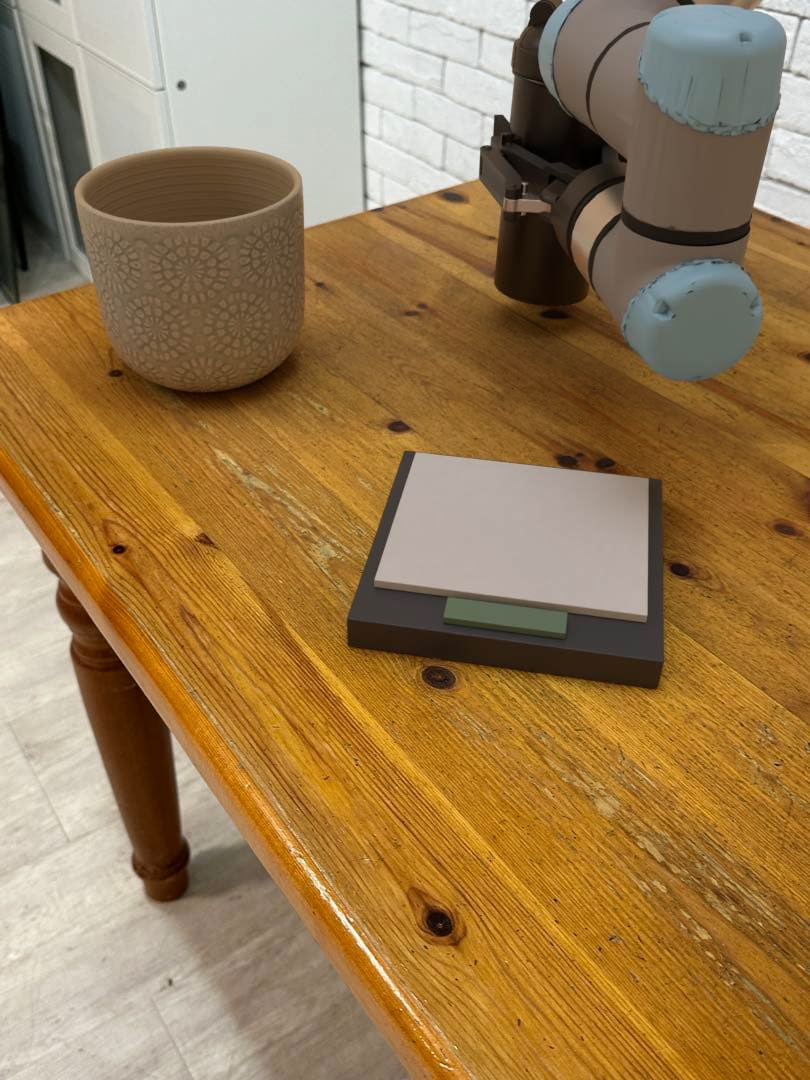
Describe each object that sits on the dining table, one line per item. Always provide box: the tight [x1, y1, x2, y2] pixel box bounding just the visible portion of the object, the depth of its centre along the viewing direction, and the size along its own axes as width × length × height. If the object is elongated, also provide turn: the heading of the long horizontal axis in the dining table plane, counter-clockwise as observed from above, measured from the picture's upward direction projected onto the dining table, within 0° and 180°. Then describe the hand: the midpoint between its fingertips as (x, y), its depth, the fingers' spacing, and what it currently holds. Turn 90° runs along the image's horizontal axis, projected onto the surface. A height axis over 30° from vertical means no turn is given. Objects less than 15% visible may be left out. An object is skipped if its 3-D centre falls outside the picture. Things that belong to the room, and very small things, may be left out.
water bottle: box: [493, 0, 609, 308], centre depth 87 cm, size 10×10×23 cm
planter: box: [73, 145, 306, 393], centre depth 83 cm, size 17×17×15 cm
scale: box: [346, 450, 665, 690], centre depth 66 cm, size 18×18×3 cm
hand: (534, 129), depth 90 cm, fingers closed on water bottle, 6 cm apart
